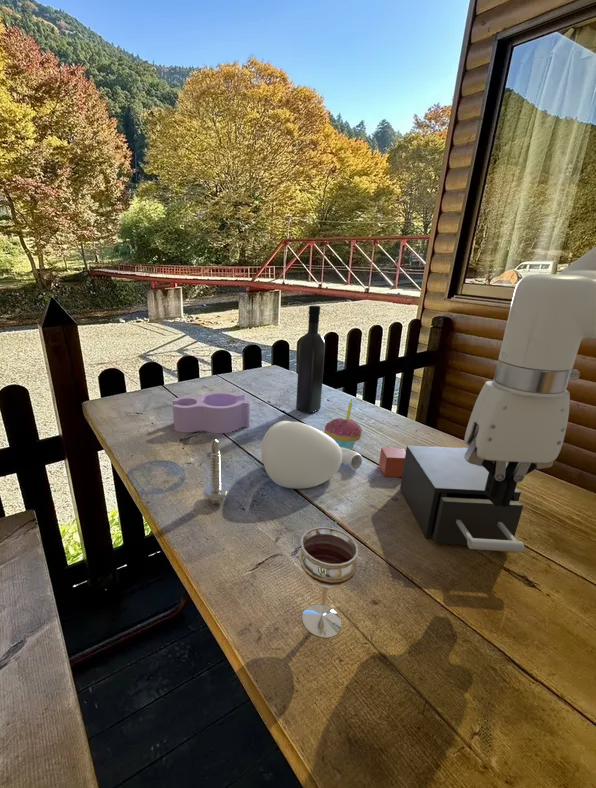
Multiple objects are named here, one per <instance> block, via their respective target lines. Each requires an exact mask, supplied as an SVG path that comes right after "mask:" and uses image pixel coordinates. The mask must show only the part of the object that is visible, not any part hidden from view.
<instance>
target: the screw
mask: <svg viewBox="0 0 596 788" xmlns="http://www.w3.org/2000/svg"><path fill="white" fill-rule="evenodd" d="M210 443H211V452H210V456H209V457H210V484H209V485H206V486H205V487H204V488H203V490H202V491H203V492H202V493H203V496H204V497H205V498H206V499H208V502H210V503H211V504H212V505H221V504H222V503H223V502H224V499H225V498H227V497H228V496H229V495H230V489H229V487H227V486H226V485H224V484H223V483H222V482H221V481H222V477H221V475H222V471H221V469H222V468H221V451H220V444H219V443H220V442H219V440H218V439H217V438H214V439H212V440H211V441H210Z"/></svg>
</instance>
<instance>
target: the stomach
mask: <svg viewBox="0 0 596 788" xmlns="http://www.w3.org/2000/svg"><path fill="white" fill-rule="evenodd" d="M260 449H261V450H260V452H261V453H260V454H261V459H262V463H263V467H264V469H265V472H266V474H267V475H268V477H269V478H270V480H272V482H274V483H275V484H276V485H278V486H280V487H282V488H287V489H295V490H296V489H298V490H301V489H309V488H313V487H317V486H319V485H321V484H324V483H326V482H327V481H329V480H330V479H332V478H333V477H334V476H335V475H336V473H338V471H339V469H341V465H342V464H343V465H346V466H349V467H351V469H352V470H354V471H357V470H359V469H360V468H361V466H362V465H363V458H362V455H361V454H360V453H359V452H357V451H354V450H353V449H351V450H350V449H346V448H342V447H339V445H338V444H337V443H336V442H335V441H334V440H333V439H332V438H331V437H329V436H328V435H326V434H325V433H324V432H323V431H322V430H320V429H318V428H316V427H314V426H311V425H309V424H306V423H304V422H299V421H290V420H280V421H278V422H276V423H274V424H273V425H271V426H270V427H269V429H267V431H266V433H265V434H264V437H263V440H262V443H261V448H260Z"/></svg>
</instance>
